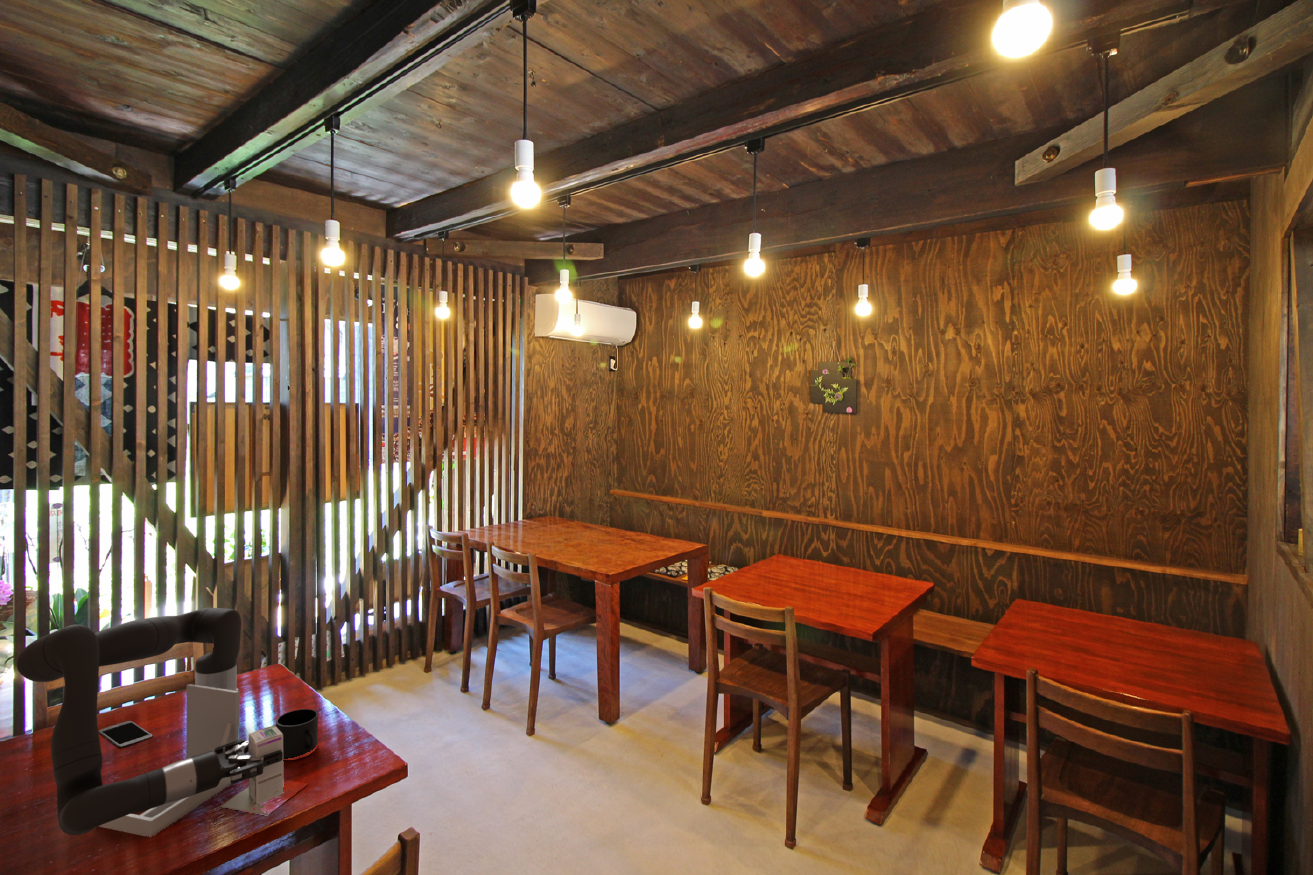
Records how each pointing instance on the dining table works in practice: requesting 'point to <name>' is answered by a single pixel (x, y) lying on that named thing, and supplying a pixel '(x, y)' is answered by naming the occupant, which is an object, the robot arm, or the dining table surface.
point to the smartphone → (125, 734)
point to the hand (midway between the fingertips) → (275, 747)
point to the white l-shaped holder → (206, 729)
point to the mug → (298, 732)
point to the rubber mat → (243, 803)
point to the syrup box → (273, 774)
